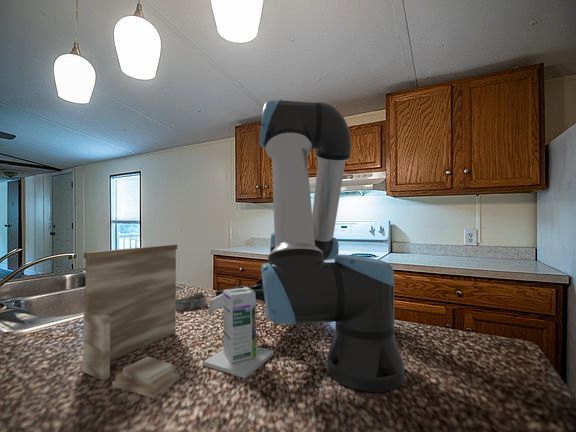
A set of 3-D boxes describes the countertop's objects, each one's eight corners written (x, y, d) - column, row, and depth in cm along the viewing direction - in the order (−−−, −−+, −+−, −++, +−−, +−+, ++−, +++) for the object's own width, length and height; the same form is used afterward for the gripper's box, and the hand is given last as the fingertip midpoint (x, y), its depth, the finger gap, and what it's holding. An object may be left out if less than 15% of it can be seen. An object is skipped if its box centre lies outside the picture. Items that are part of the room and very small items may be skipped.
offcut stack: (180, 379, 55) (181, 361, 55) (153, 400, 48) (153, 379, 48) (142, 370, 58) (142, 352, 58) (112, 388, 52) (112, 368, 52)
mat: (273, 354, 64) (273, 351, 64) (245, 378, 54) (245, 374, 54) (235, 344, 69) (235, 341, 69) (203, 365, 59) (203, 361, 59)
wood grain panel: (193, 336, 74) (193, 245, 74) (103, 380, 54) (104, 254, 54) (172, 331, 78) (172, 244, 78) (80, 370, 57) (81, 252, 58)
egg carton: (203, 302, 106) (203, 291, 106) (207, 307, 100) (207, 296, 100) (173, 306, 102) (173, 294, 102) (175, 312, 95) (175, 299, 95)
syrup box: (230, 364, 58) (230, 294, 58) (222, 353, 63) (223, 288, 63) (256, 358, 61) (256, 291, 61) (246, 347, 66) (246, 285, 66)
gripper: (313, 303, 78) (292, 332, 57) (233, 296, 85) (189, 320, 65) (313, 276, 78) (292, 296, 58) (233, 271, 85) (189, 287, 65)
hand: (237, 309), depth 61 cm, fingers open, 13 cm apart
